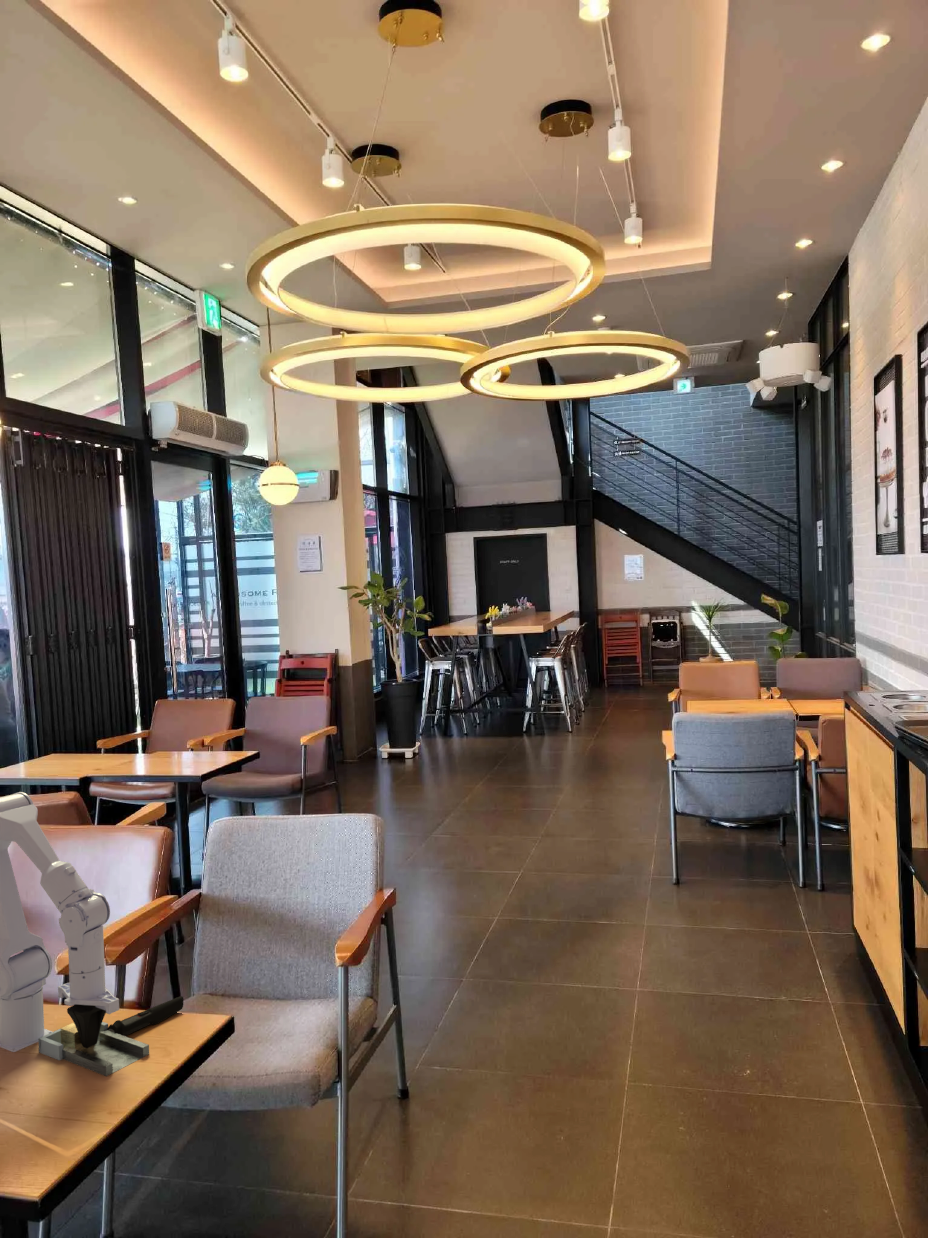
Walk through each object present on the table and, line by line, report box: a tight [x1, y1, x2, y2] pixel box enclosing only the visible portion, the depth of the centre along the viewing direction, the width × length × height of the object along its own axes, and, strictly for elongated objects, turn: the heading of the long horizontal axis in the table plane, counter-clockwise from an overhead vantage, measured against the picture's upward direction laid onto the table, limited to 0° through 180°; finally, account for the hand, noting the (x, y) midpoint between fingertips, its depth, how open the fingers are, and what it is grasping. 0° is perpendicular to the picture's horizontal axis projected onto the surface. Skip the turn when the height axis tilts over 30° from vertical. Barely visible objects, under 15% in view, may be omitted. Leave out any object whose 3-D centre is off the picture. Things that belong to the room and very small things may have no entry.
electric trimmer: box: [107, 995, 184, 1037], centre depth 165 cm, size 4×16×3 cm, turn 143°
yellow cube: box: [60, 1022, 86, 1051], centre depth 157 cm, size 4×4×4 cm
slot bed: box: [62, 1029, 150, 1077], centre depth 153 cm, size 12×8×2 cm
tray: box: [37, 1021, 109, 1061], centre depth 158 cm, size 6×10×3 cm, turn 147°
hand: (89, 1045), depth 156 cm, fingers closed
